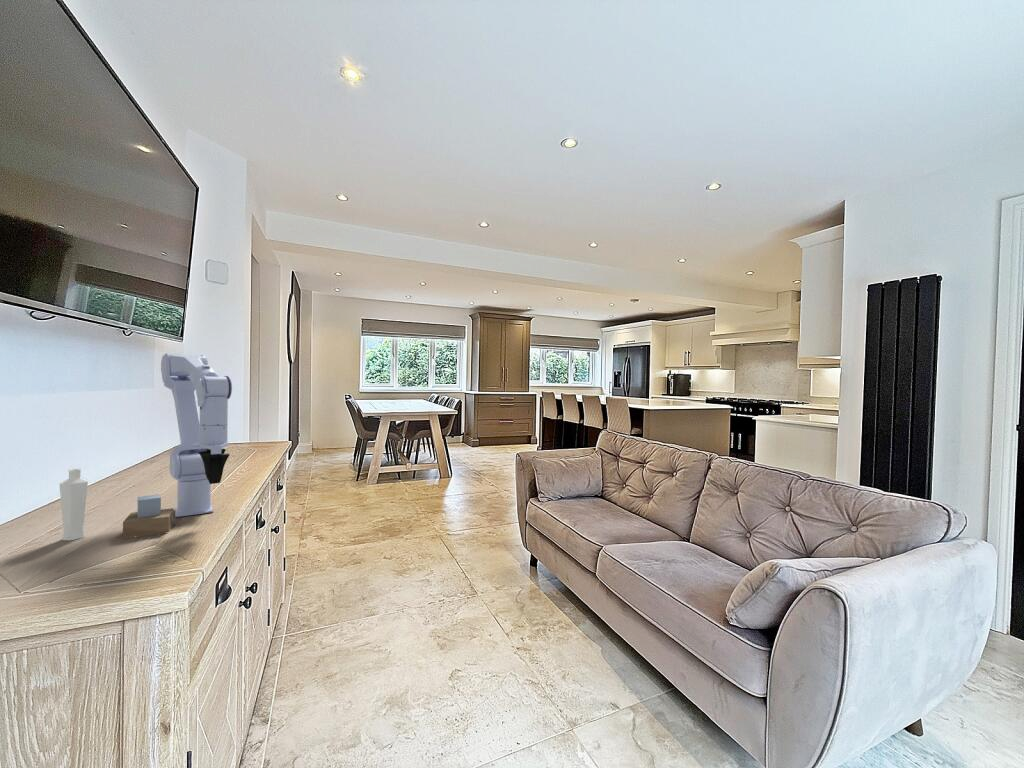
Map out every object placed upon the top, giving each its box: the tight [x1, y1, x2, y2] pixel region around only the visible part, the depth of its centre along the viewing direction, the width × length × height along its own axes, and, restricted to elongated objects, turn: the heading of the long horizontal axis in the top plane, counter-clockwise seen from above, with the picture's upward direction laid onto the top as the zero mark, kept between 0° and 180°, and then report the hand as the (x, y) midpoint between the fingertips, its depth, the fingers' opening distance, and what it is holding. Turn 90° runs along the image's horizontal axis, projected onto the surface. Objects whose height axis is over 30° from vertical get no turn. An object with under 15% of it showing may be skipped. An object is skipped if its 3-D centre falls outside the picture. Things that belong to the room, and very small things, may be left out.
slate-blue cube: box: [136, 493, 162, 518], centre depth 103 cm, size 4×4×4 cm
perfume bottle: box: [59, 468, 89, 541], centre depth 98 cm, size 5×4×15 cm
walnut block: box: [122, 507, 175, 539], centre depth 103 cm, size 8×8×4 cm
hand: (213, 480), depth 108 cm, fingers open, 7 cm apart
